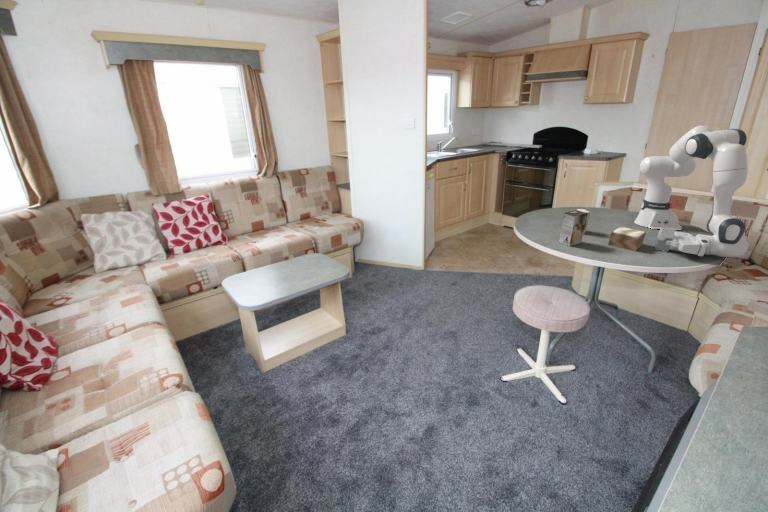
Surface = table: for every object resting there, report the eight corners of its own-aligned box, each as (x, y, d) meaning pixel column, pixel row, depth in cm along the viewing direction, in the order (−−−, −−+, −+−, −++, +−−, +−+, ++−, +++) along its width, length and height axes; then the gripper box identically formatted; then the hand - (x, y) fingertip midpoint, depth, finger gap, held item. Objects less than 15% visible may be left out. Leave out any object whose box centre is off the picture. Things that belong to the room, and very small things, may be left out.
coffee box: (570, 239, 188) (576, 209, 182) (581, 243, 183) (588, 213, 177) (558, 242, 185) (564, 212, 178) (569, 246, 179) (576, 215, 173)
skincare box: (571, 229, 202) (576, 208, 197) (578, 229, 202) (583, 208, 197) (577, 233, 196) (582, 212, 191) (585, 233, 196) (590, 212, 191)
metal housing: (666, 248, 177) (673, 227, 173) (667, 252, 173) (675, 230, 168) (653, 246, 179) (660, 225, 175) (655, 250, 175) (662, 229, 171)
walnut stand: (642, 244, 181) (646, 231, 179) (635, 251, 174) (639, 237, 171) (615, 238, 189) (619, 226, 187) (608, 244, 182) (611, 231, 179)
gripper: (696, 230, 175) (662, 226, 181) (708, 244, 159) (670, 239, 164) (692, 242, 178) (658, 238, 184) (703, 257, 161) (665, 252, 167)
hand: (664, 238), depth 174 cm, fingers open, 8 cm apart
